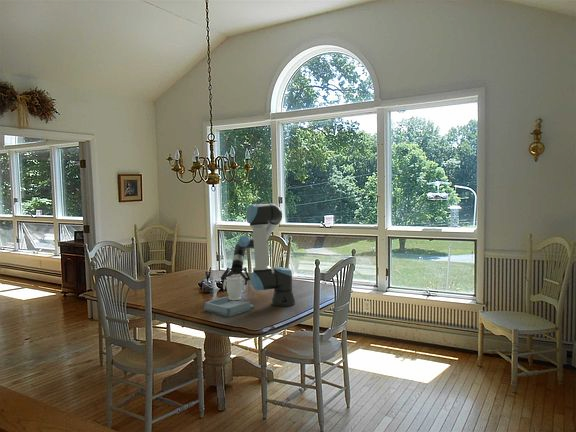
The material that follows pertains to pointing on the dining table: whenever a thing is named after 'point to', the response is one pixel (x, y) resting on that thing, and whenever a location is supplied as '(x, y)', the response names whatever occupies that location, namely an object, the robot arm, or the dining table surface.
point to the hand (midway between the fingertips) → (233, 288)
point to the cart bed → (226, 306)
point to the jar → (234, 287)
